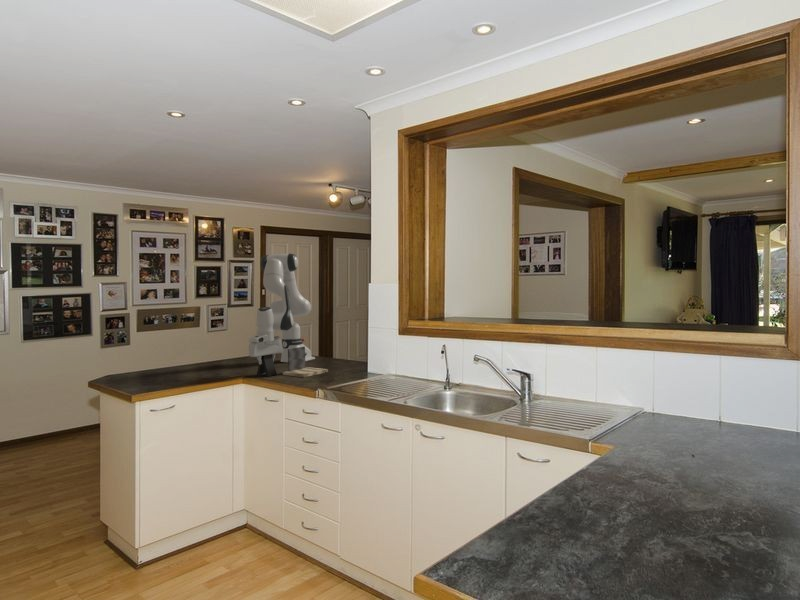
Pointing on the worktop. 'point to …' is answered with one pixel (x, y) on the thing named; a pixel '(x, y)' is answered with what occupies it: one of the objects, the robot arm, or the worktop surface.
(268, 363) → the door stopper
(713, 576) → the worktop surface
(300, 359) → the l-shaped stand
